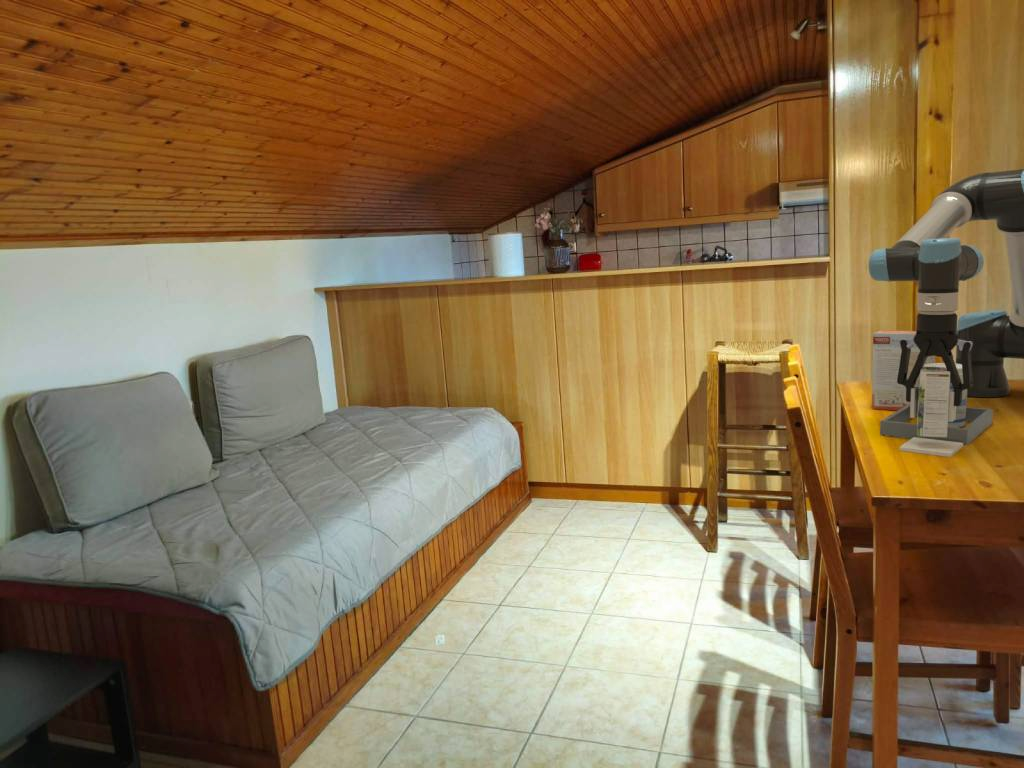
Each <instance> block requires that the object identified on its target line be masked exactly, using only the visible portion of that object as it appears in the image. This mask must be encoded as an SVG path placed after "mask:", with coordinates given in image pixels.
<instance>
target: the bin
mask: <svg viewBox="0 0 1024 768" xmlns="http://www.w3.org/2000/svg"><path fill="white" fill-rule="evenodd" d="M910 405H911V403H910V404H908V405H906V406H905V407H903V408H901V409H900V410H898V411H894V412H893V413H891V414H890V415H888V416H886V417H884V418H883V419H881V420H880V421H879V422H880V427H879V428H880V429H879V435H880V434H881V435H887V436H886V437H889V436H893V437H892V438H898V437H900V439H906V438H907V439H909V440H910V439H912V438H913V437H917V438H926V439H934V440H943V441H951V442H960V443H963V446H965V445H967V446H968V445H970V444H971V443H972V442H973V441H974V440H975V439H976V438H977V437H979V436H980V435H981V434H982V433H983V432H985V431H986V428H987V427H988V426H989V427H990V426H992V425H993V418H994V417H993V416H994V408H993V409H992V408H983V407H971V406H966V420H965V421H970V422H969V424H968V425H966V426H964V428H963V427H960V428H952V427H948V431H947V437H922V436H918V435H917V423H914V422H913V423H912V422H908V421H910V420H912V419H911V418H910ZM917 417H918V414H917V416H916V417H915V418H917ZM906 421H907V422H906ZM989 427H988V428H989ZM979 434H980V435H979ZM881 435H880V436H881ZM978 435H979V436H978ZM970 442H971V443H970Z"/></svg>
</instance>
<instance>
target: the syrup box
mask: <svg viewBox="0 0 1024 768" xmlns="http://www.w3.org/2000/svg"><path fill="white" fill-rule="evenodd" d="M949 393H950V371H947V369H946V368H945V367H922V368H921V369H920V379H919V393H918V417H916V418H917V420H916V421H917V423H916V424H917V435H918V436H922V437H947V431H948V412H949Z"/></svg>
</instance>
